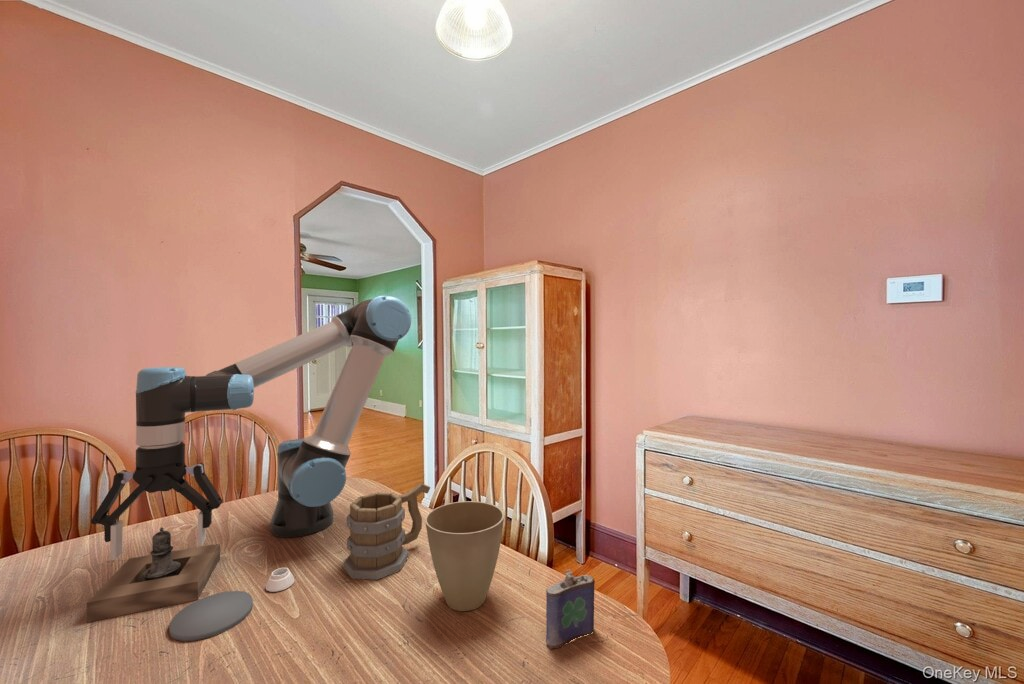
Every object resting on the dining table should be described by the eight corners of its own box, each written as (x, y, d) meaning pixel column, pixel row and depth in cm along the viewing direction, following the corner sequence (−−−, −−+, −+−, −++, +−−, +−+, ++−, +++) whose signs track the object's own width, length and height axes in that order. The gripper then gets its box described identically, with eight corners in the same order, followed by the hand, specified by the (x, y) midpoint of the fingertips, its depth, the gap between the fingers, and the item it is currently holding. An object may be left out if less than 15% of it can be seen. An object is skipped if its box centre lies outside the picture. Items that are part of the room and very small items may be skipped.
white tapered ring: (281, 577, 86) (259, 590, 81) (281, 563, 86) (259, 575, 81) (299, 581, 84) (278, 596, 80) (299, 567, 84) (278, 580, 80)
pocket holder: (220, 558, 93) (219, 543, 93) (198, 599, 78) (197, 581, 78) (129, 574, 87) (129, 558, 87) (86, 622, 72) (86, 602, 72)
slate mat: (257, 590, 81) (257, 585, 81) (245, 629, 70) (245, 623, 70) (183, 605, 77) (183, 600, 77) (157, 650, 66) (157, 643, 66)
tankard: (359, 587, 82) (358, 513, 82) (337, 562, 92) (337, 495, 91) (444, 553, 95) (444, 488, 95) (418, 534, 105) (418, 475, 105)
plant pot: (514, 584, 83) (514, 505, 83) (486, 634, 69) (486, 539, 69) (448, 571, 88) (448, 496, 88) (409, 615, 74) (409, 526, 74)
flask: (551, 651, 65) (551, 584, 65) (541, 639, 68) (541, 574, 68) (597, 633, 69) (597, 569, 69) (587, 622, 72) (587, 561, 72)
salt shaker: (158, 597, 79) (158, 535, 79) (134, 594, 80) (133, 532, 80) (188, 580, 85) (187, 522, 85) (165, 577, 86) (164, 519, 86)
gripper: (238, 435, 91) (237, 531, 91) (89, 445, 81) (88, 553, 81) (230, 442, 84) (229, 546, 84) (66, 455, 74) (65, 572, 74)
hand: (160, 550), depth 82 cm, fingers open, 13 cm apart
